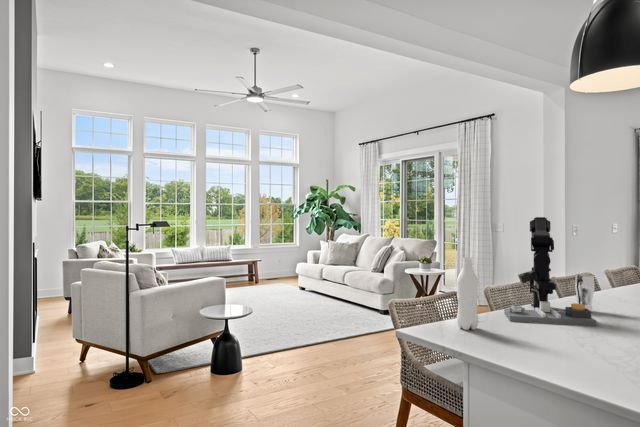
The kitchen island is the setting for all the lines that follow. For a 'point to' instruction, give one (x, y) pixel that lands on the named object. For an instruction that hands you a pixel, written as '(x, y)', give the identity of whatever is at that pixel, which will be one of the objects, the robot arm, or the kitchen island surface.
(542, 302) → the cream rectangular brick
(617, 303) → the kitchen island surface
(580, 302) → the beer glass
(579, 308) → the button
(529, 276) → the robot arm
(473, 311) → the water bottle
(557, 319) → the panel
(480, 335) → the kitchen island surface
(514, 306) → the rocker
